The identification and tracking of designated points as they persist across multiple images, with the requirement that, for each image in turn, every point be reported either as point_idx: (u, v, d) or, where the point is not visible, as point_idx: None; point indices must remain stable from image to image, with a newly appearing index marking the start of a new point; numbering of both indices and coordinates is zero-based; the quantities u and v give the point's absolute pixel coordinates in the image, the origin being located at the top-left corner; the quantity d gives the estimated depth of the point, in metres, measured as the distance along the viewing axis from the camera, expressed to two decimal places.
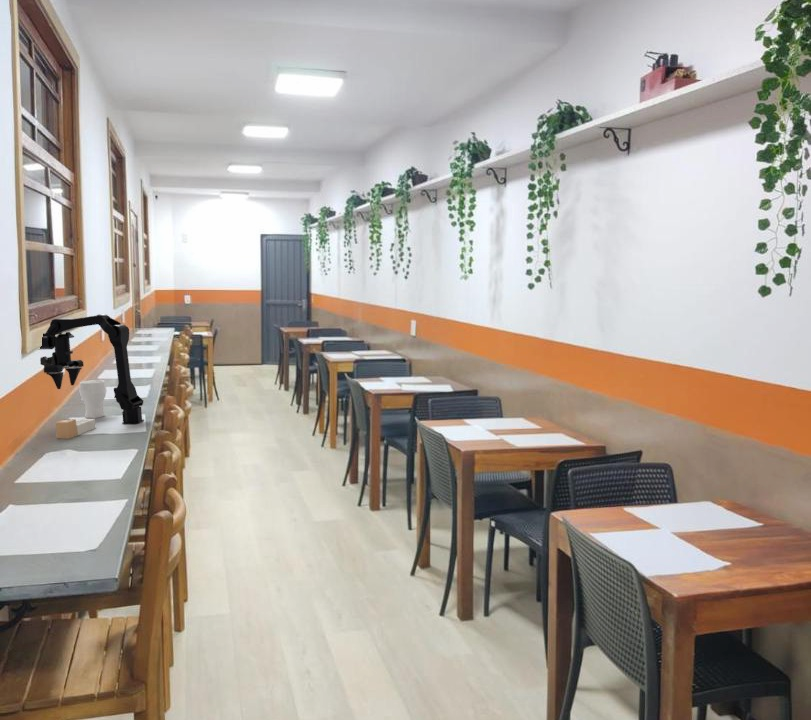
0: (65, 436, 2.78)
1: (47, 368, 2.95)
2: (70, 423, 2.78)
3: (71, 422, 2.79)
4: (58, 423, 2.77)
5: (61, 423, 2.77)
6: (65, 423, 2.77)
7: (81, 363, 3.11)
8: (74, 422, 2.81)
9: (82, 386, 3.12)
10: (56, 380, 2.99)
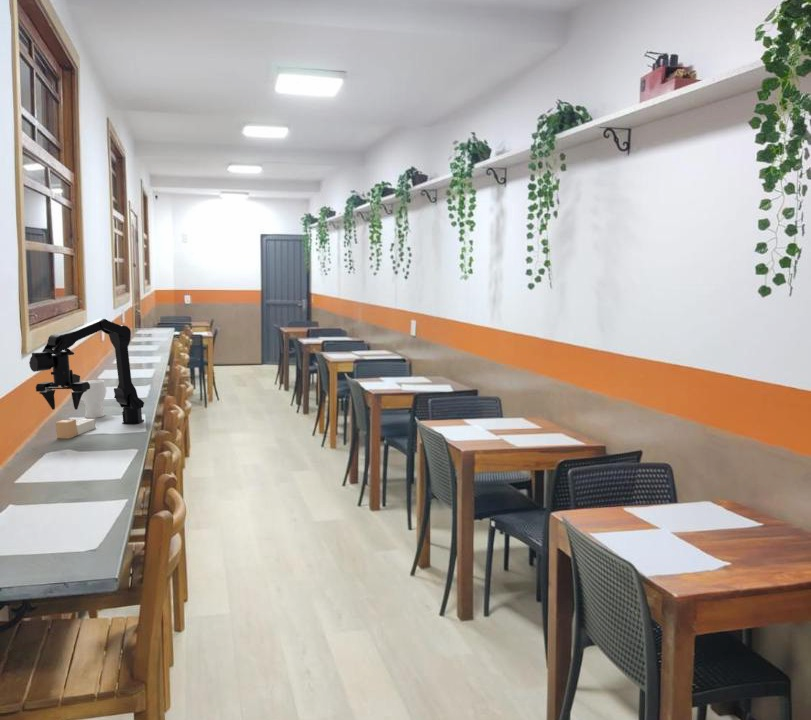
0: (65, 436, 2.78)
1: None
2: (70, 423, 2.78)
3: (71, 422, 2.79)
4: (58, 423, 2.77)
5: (61, 423, 2.77)
6: (65, 423, 2.77)
7: (76, 387, 2.74)
8: (74, 422, 2.81)
9: None
10: None
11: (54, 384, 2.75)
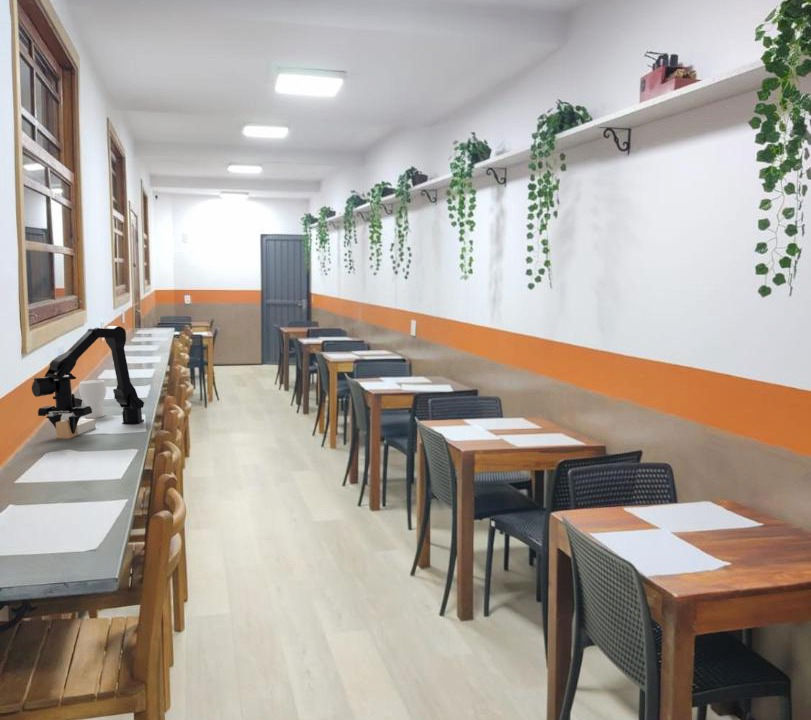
0: (65, 436, 2.78)
1: None
2: None
3: None
4: (58, 423, 2.77)
5: (61, 423, 2.77)
6: (65, 423, 2.77)
7: (78, 412, 2.75)
8: None
9: (82, 386, 3.12)
10: None
11: (56, 408, 2.76)
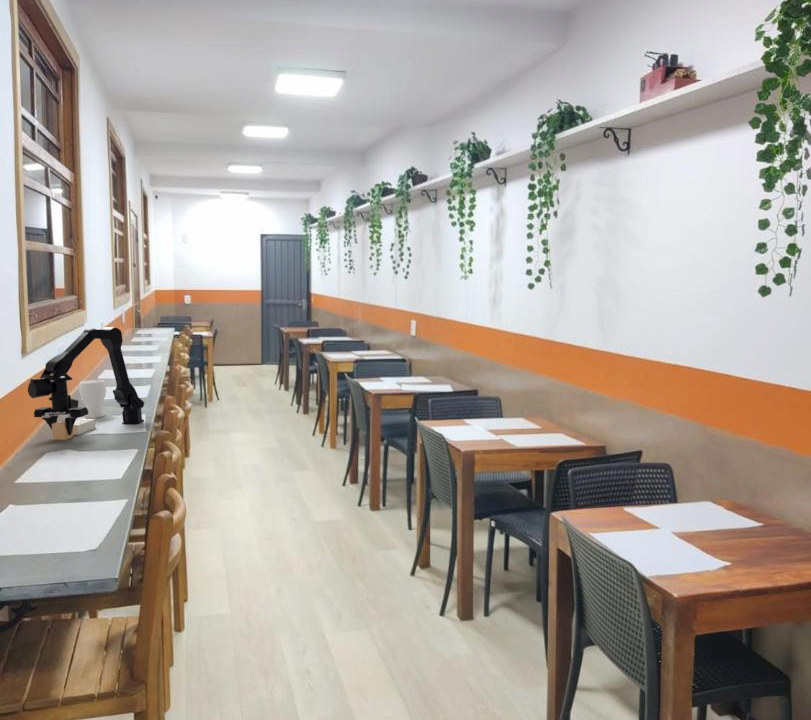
0: (61, 438, 2.76)
1: None
2: None
3: None
4: (55, 425, 2.75)
5: (57, 424, 2.75)
6: (61, 424, 2.75)
7: (74, 413, 2.73)
8: None
9: (82, 386, 3.12)
10: None
11: (52, 410, 2.74)
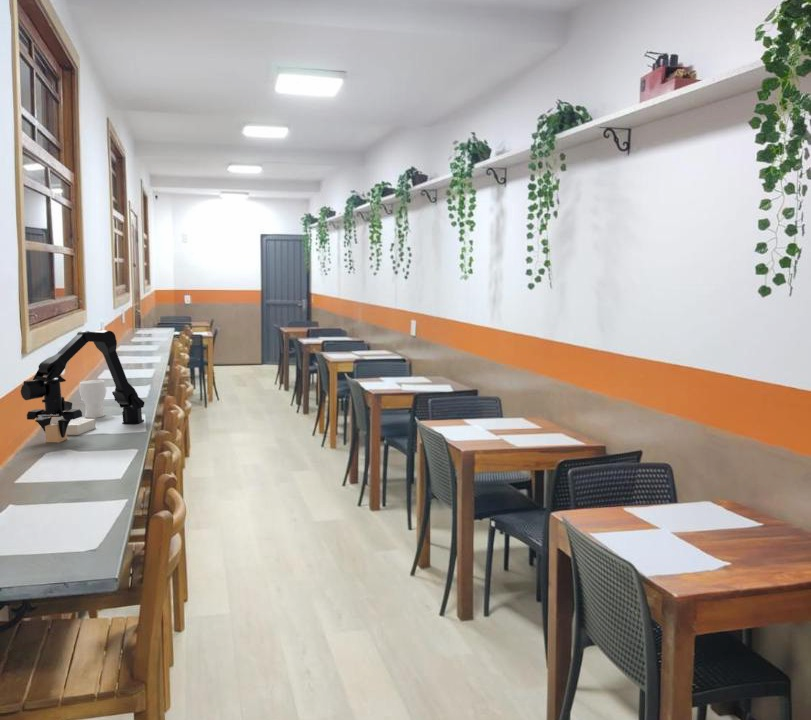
0: (54, 440, 2.71)
1: None
2: None
3: None
4: (48, 427, 2.71)
5: (50, 427, 2.71)
6: (54, 427, 2.71)
7: (68, 415, 2.69)
8: None
9: (82, 386, 3.12)
10: None
11: (45, 412, 2.70)
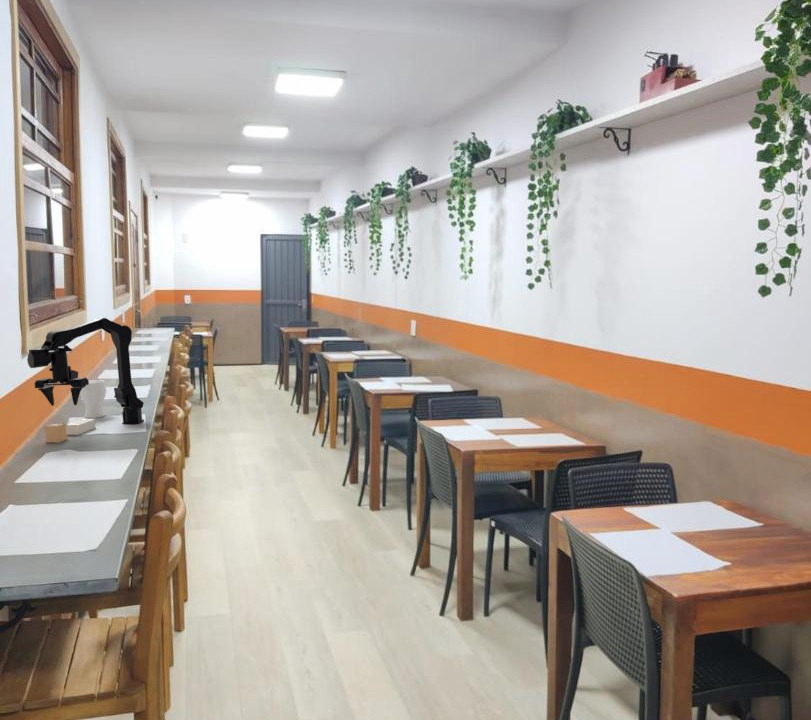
0: (54, 440, 2.71)
1: None
2: (59, 427, 2.72)
3: (61, 426, 2.73)
4: (48, 427, 2.71)
5: (50, 427, 2.71)
6: (54, 427, 2.71)
7: (75, 383, 2.77)
8: (64, 426, 2.75)
9: None
10: None
11: (53, 380, 2.78)
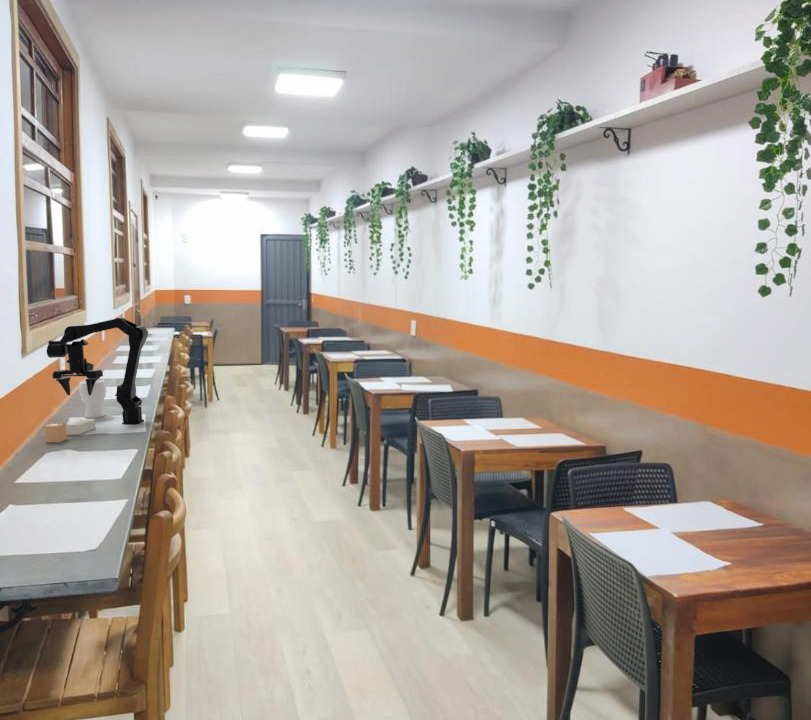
0: (54, 440, 2.71)
1: None
2: (59, 427, 2.72)
3: (61, 426, 2.73)
4: (48, 427, 2.71)
5: (50, 427, 2.71)
6: (54, 427, 2.71)
7: (90, 374, 2.95)
8: (64, 426, 2.75)
9: (82, 386, 3.12)
10: None
11: (70, 371, 2.97)
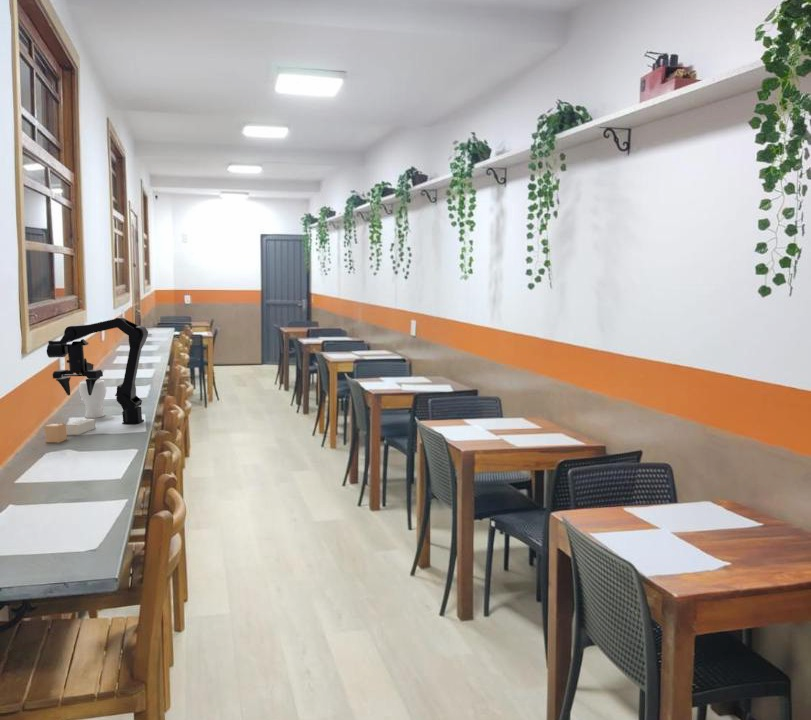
0: (54, 440, 2.71)
1: None
2: (59, 427, 2.72)
3: (61, 426, 2.73)
4: (48, 427, 2.71)
5: (50, 427, 2.71)
6: (54, 427, 2.71)
7: (90, 374, 2.95)
8: (64, 426, 2.75)
9: (82, 386, 3.12)
10: None
11: (70, 371, 2.97)
